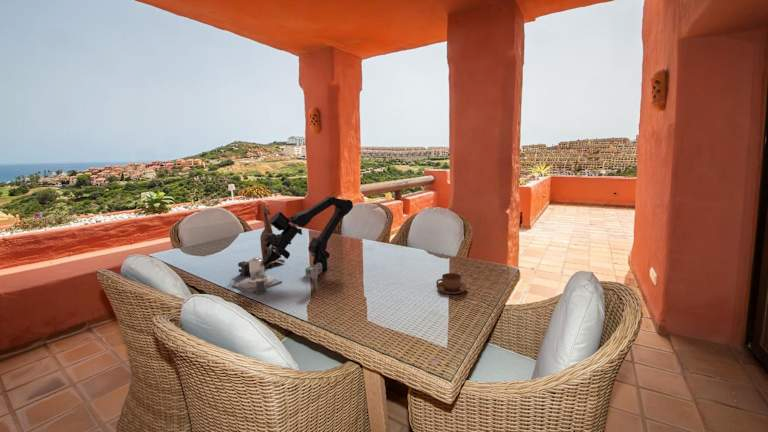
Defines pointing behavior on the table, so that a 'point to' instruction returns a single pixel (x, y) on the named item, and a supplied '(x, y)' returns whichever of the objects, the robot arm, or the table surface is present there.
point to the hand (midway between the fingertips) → (264, 264)
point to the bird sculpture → (269, 231)
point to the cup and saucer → (451, 284)
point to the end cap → (244, 268)
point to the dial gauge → (260, 286)
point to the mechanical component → (314, 273)
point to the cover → (256, 270)
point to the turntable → (250, 288)
